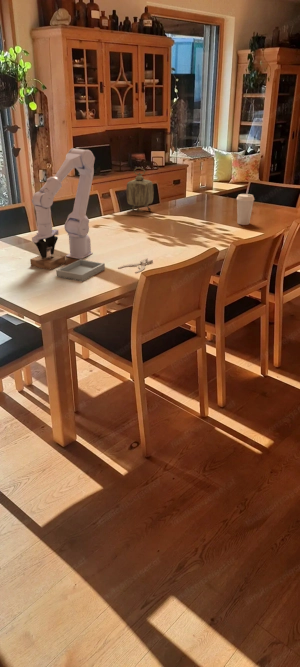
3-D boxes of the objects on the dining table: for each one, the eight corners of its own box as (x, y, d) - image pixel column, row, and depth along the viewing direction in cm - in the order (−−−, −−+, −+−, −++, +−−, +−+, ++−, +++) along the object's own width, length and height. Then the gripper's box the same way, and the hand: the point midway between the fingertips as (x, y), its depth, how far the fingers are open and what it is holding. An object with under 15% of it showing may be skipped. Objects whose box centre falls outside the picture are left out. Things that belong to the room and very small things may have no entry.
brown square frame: (46, 259, 213) (45, 252, 212) (65, 263, 209) (64, 256, 208) (30, 266, 205) (30, 259, 204) (50, 270, 201) (49, 262, 200)
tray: (80, 264, 207) (80, 259, 206) (104, 269, 202) (104, 263, 201) (56, 276, 194) (56, 270, 193) (82, 281, 189) (81, 275, 188)
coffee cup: (248, 226, 266) (250, 197, 259) (231, 224, 270) (233, 195, 264) (254, 222, 273) (257, 194, 267) (238, 220, 278) (240, 192, 271)
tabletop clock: (153, 210, 300) (153, 167, 289) (147, 213, 292) (147, 169, 281) (131, 208, 305) (131, 165, 294) (125, 211, 298) (124, 167, 287)
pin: (47, 262, 210) (45, 244, 207) (55, 264, 208) (54, 245, 205) (40, 265, 207) (38, 247, 203) (49, 267, 205) (47, 248, 201)
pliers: (117, 265, 203) (140, 256, 213) (117, 269, 203) (140, 260, 214) (136, 270, 197) (159, 261, 208) (136, 274, 198) (159, 264, 209)
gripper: (47, 218, 207) (50, 249, 213) (24, 225, 196) (28, 258, 202) (61, 219, 204) (64, 252, 210) (38, 227, 193) (42, 261, 199)
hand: (47, 255), depth 206 cm, fingers closed on pin, 4 cm apart
